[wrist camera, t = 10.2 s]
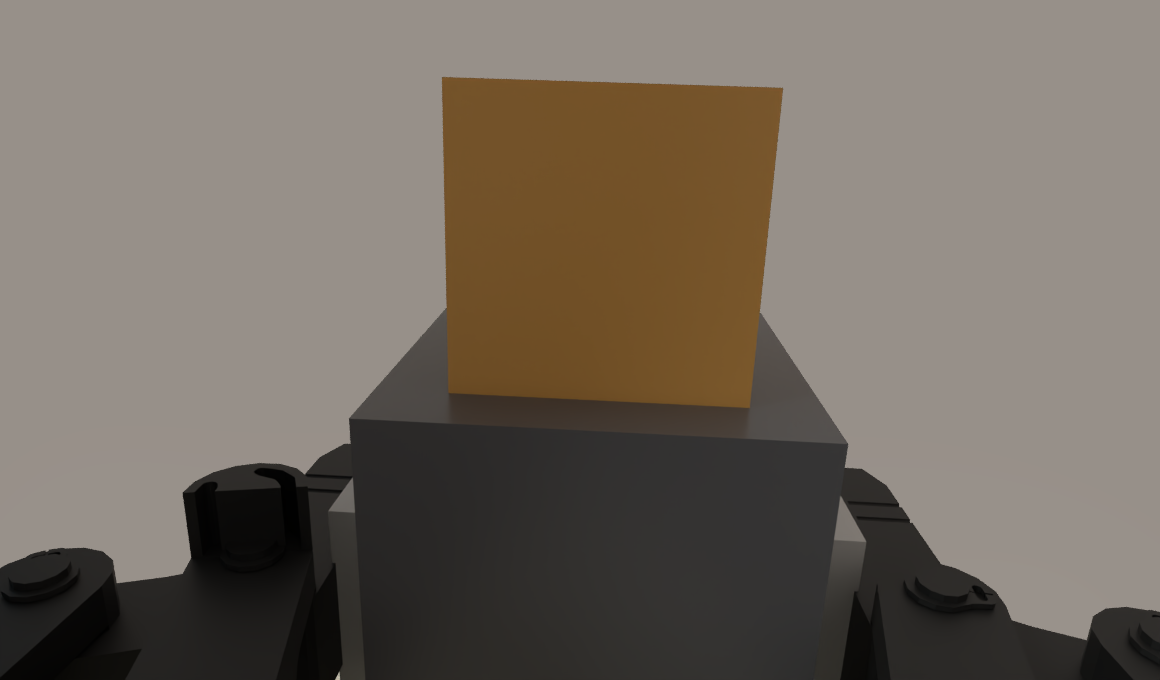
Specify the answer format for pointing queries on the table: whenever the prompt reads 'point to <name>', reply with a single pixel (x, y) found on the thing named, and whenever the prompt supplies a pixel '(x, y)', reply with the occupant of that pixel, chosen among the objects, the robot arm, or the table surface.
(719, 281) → the charcoal plug
